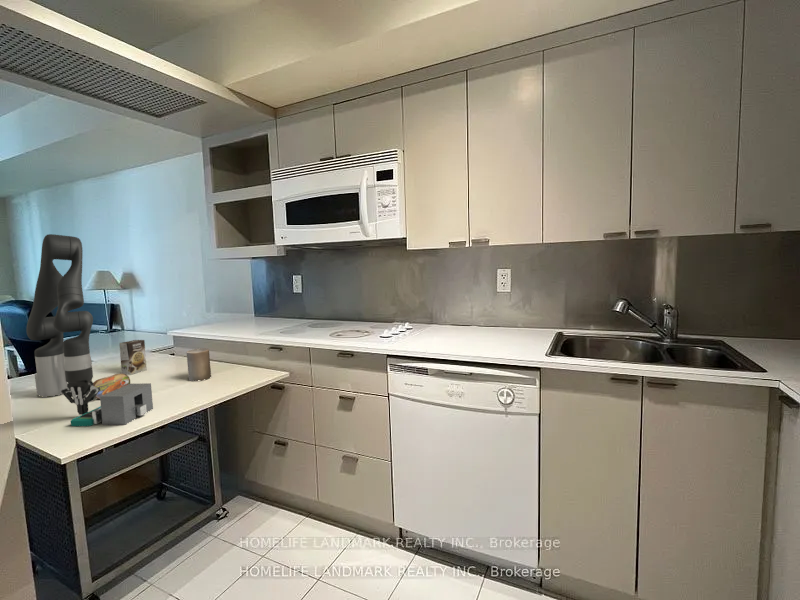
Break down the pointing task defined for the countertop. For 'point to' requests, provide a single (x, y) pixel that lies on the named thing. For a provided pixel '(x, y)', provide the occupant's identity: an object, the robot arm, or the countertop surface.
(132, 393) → the gray tunnel block
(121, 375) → the tin
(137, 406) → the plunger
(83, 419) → the digital multimeter
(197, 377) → the pillar candle
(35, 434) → the countertop surface
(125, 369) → the food box
